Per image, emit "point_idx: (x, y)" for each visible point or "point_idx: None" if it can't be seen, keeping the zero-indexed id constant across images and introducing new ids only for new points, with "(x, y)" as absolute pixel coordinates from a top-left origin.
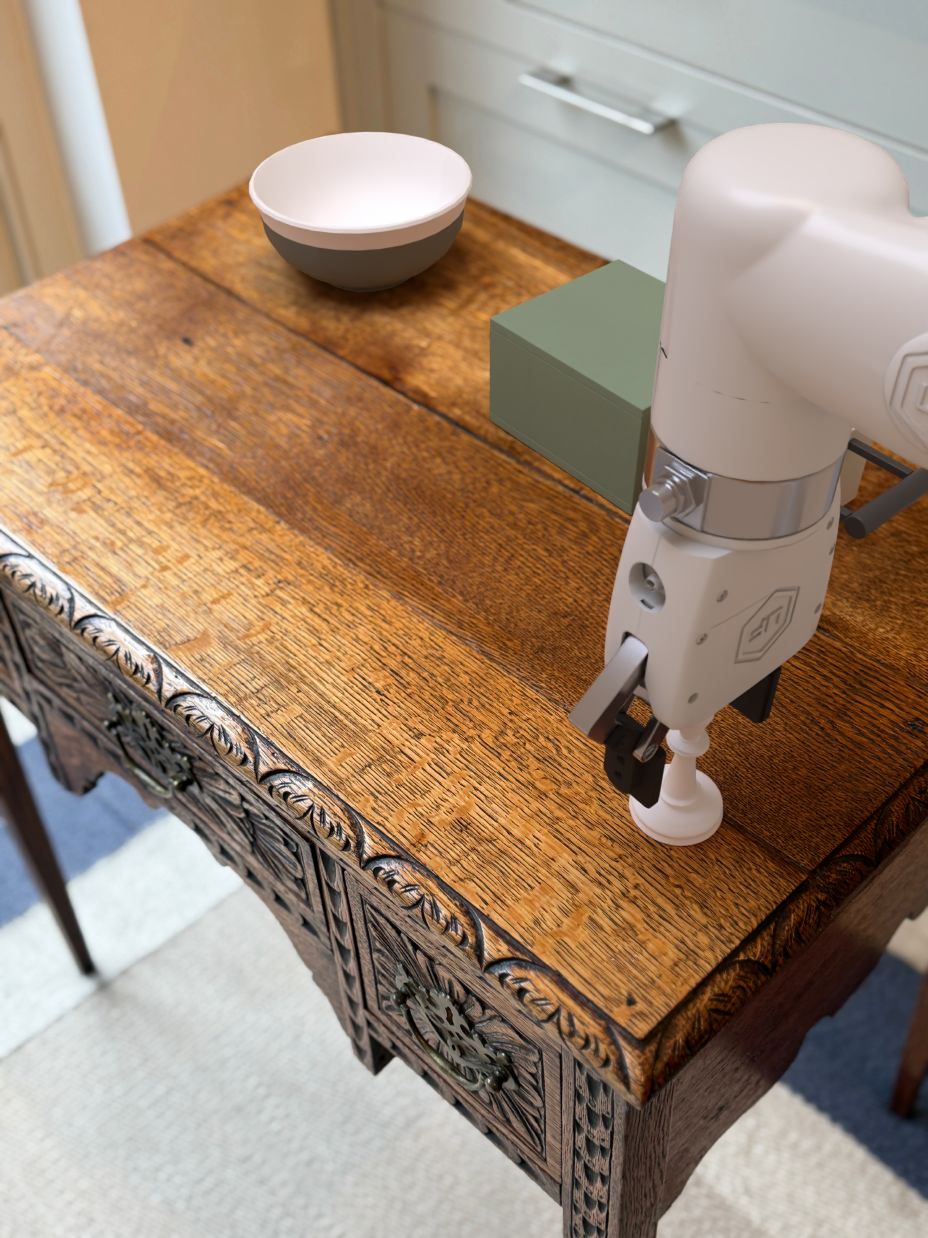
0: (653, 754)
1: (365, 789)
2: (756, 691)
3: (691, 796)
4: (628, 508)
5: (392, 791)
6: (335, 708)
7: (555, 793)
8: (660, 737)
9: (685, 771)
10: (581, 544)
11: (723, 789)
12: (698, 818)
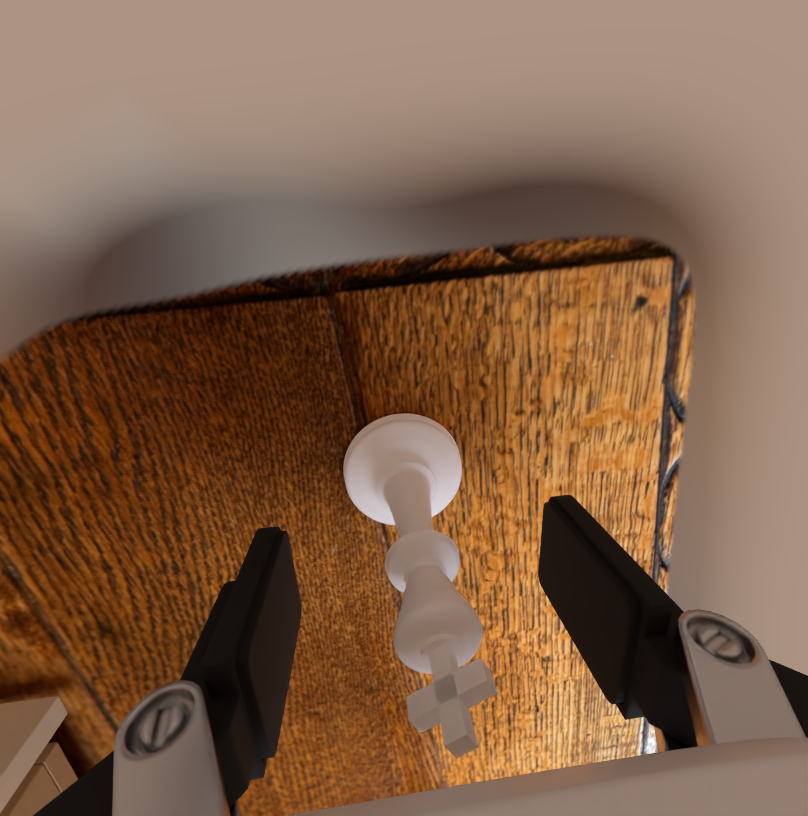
0: (687, 621)
1: None
2: (271, 605)
3: (407, 471)
4: None
5: None
6: (579, 710)
7: (495, 548)
8: (715, 674)
9: (425, 511)
10: None
11: (331, 455)
12: (410, 440)
